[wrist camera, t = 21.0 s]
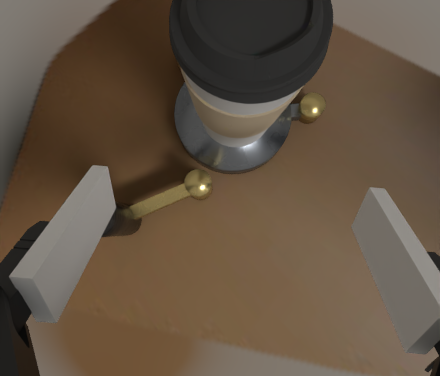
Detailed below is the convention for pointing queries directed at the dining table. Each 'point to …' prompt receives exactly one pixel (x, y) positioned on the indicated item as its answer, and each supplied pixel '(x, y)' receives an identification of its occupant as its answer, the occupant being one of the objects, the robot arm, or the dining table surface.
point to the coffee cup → (247, 59)
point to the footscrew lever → (157, 203)
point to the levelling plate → (247, 155)
